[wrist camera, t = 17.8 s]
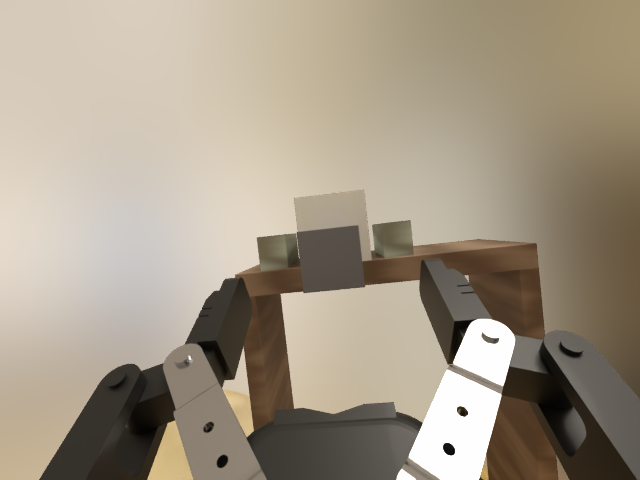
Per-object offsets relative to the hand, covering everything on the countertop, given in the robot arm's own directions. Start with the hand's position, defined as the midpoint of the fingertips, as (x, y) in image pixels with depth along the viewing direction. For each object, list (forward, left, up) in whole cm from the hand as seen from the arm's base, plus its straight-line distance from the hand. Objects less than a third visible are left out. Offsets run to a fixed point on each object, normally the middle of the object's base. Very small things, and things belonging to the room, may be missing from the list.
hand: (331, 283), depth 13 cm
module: (0, -11, -1) cm, 11 cm away
